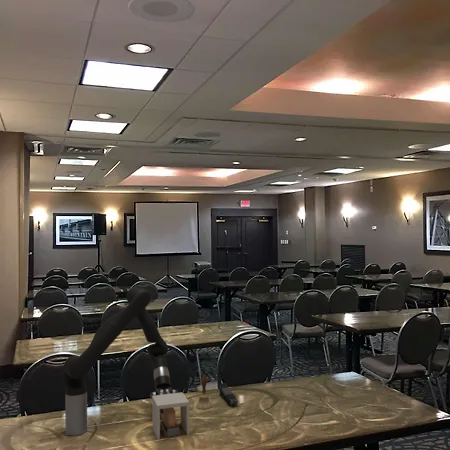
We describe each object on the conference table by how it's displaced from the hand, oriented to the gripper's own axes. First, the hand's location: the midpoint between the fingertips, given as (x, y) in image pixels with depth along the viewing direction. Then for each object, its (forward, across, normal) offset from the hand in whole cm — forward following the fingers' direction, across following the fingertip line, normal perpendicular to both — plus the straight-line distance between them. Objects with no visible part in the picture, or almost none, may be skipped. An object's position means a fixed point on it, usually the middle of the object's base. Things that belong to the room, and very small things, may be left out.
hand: (166, 412), depth 222 cm
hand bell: (-7, +22, +15) cm, 28 cm away
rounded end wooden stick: (+6, 0, 0) cm, 6 cm away
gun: (-10, +36, +18) cm, 41 cm away
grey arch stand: (+10, 0, -3) cm, 10 cm away
